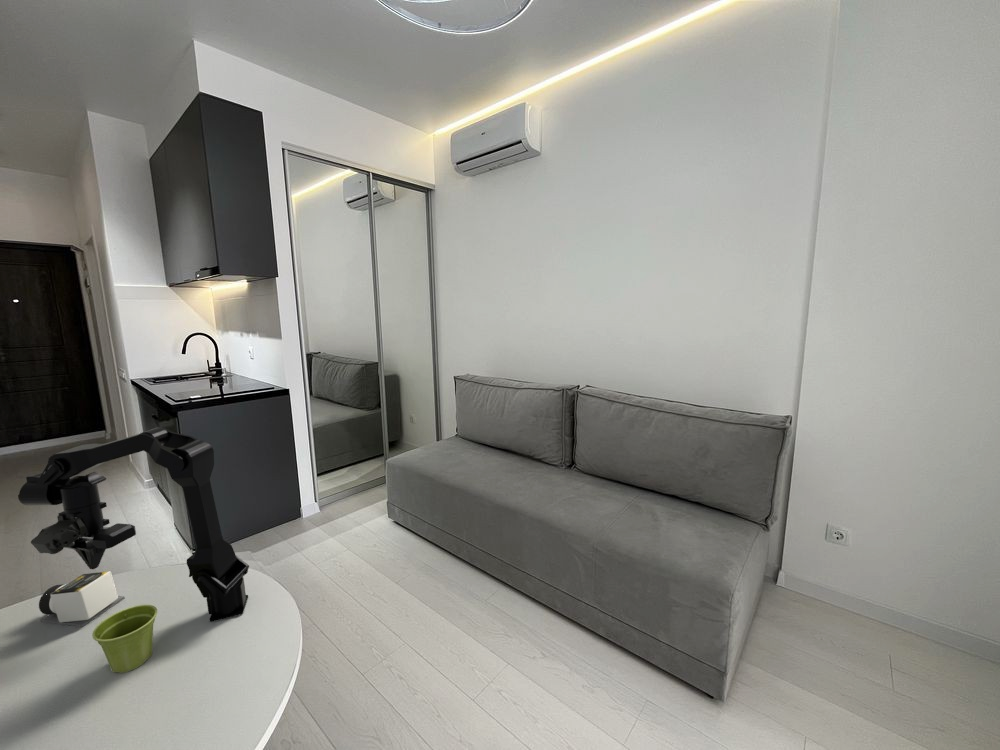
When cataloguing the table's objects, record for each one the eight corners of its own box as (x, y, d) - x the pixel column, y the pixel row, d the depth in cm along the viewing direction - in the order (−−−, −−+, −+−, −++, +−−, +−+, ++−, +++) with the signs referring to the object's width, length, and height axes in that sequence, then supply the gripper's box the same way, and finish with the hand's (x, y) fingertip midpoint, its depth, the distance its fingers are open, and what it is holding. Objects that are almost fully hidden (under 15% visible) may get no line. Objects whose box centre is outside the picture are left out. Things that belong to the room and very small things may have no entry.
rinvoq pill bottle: (79, 590, 89) (28, 596, 90) (88, 620, 90) (38, 625, 91) (111, 570, 96) (63, 575, 97) (119, 597, 97) (72, 602, 98)
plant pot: (160, 634, 88) (154, 597, 86) (166, 660, 81) (159, 621, 80) (99, 660, 81) (92, 621, 80) (100, 691, 75) (92, 649, 73)
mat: (124, 598, 99) (124, 596, 99) (82, 626, 90) (81, 624, 90) (86, 594, 101) (86, 592, 101) (41, 621, 92) (40, 619, 92)
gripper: (-2, 519, 84) (14, 588, 86) (74, 525, 81) (88, 596, 84) (63, 495, 95) (75, 557, 97) (132, 499, 92) (143, 563, 94)
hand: (94, 568), depth 93 cm, fingers closed
